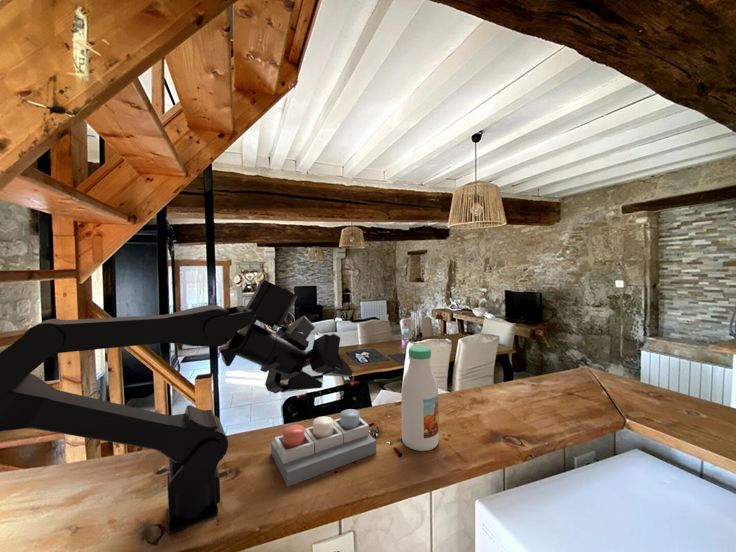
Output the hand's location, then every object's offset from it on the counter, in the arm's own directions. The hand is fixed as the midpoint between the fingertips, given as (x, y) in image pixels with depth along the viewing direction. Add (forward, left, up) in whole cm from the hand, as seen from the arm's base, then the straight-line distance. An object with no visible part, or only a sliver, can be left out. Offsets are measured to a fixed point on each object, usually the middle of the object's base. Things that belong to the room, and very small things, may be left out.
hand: (335, 379), depth 62 cm
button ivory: (-2, +2, -11) cm, 11 cm away
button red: (-8, +2, -11) cm, 14 cm away
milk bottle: (+17, -5, -15) cm, 23 cm away
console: (-2, +2, -15) cm, 15 cm away
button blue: (+4, +2, -11) cm, 12 cm away
